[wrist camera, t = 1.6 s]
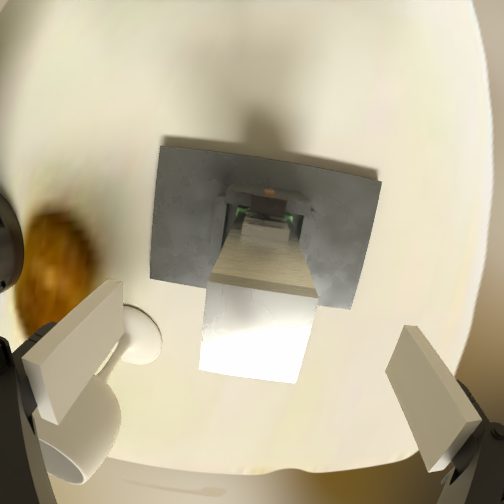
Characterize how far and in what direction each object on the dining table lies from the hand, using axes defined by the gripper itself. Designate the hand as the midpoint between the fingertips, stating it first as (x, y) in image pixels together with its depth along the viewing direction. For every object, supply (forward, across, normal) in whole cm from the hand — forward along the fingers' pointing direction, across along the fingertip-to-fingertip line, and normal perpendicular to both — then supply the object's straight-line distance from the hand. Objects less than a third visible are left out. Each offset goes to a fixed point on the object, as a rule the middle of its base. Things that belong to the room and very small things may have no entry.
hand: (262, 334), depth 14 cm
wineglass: (+20, -14, -16) cm, 29 cm away
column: (+18, 0, 0) cm, 19 cm away
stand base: (+20, 0, 0) cm, 20 cm away
